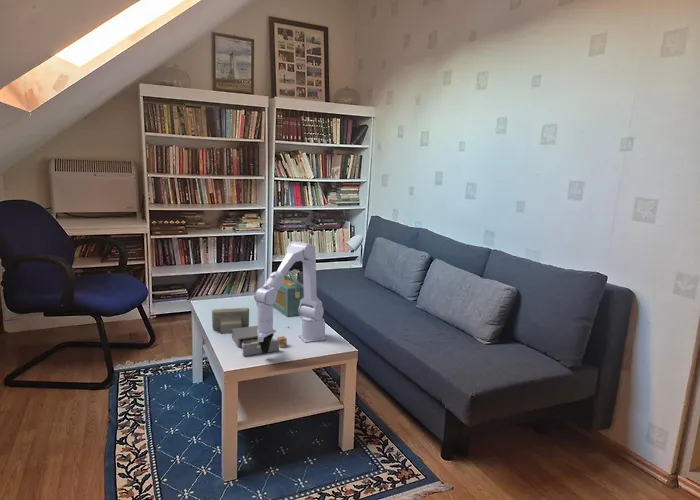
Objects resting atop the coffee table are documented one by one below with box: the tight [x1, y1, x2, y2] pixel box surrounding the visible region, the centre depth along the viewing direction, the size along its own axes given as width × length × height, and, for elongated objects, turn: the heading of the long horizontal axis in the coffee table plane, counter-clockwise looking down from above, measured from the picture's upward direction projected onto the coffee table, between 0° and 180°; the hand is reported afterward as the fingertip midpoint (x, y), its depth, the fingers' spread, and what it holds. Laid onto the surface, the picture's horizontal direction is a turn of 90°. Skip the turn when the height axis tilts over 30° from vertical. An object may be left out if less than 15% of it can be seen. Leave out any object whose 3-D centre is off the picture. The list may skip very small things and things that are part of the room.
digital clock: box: [211, 307, 250, 335], centre depth 209 cm, size 16×9×11 cm, turn 93°
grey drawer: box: [240, 338, 280, 357], centre depth 191 cm, size 14×12×4 cm
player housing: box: [231, 325, 258, 349], centre depth 199 cm, size 14×12×4 cm
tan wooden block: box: [276, 335, 288, 349], centre depth 194 cm, size 3×3×4 cm
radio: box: [273, 270, 304, 318], centre depth 241 cm, size 26×11×20 cm, turn 31°
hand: (265, 352), depth 181 cm, fingers closed
